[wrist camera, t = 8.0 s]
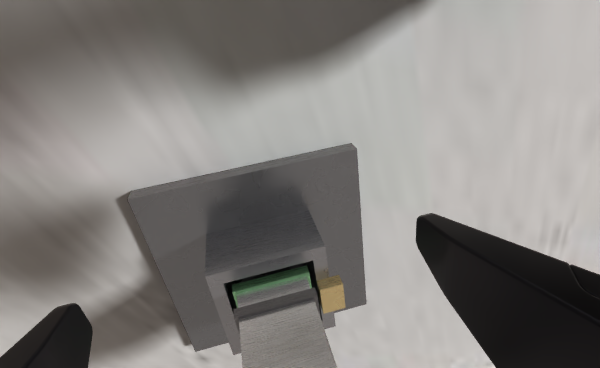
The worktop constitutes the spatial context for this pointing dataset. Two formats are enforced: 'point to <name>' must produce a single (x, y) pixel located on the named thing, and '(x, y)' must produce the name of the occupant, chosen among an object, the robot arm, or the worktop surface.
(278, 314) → the gray rectangular plug
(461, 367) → the worktop surface
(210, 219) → the stand base
